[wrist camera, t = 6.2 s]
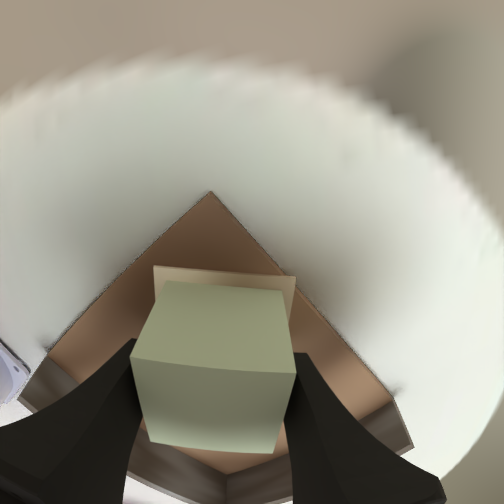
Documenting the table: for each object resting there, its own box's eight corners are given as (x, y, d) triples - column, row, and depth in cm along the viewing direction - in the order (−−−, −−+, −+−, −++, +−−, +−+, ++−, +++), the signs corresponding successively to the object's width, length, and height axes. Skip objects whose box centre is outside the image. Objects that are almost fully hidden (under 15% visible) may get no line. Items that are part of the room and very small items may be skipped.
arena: (47, 354, 14) (16, 399, 11) (218, 184, 11) (203, 213, 7) (226, 474, 19) (225, 515, 16) (399, 395, 16) (420, 443, 12)
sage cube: (171, 364, 13) (150, 441, 9) (166, 280, 12) (129, 356, 8) (267, 372, 14) (272, 453, 9) (282, 290, 12) (296, 373, 8)
